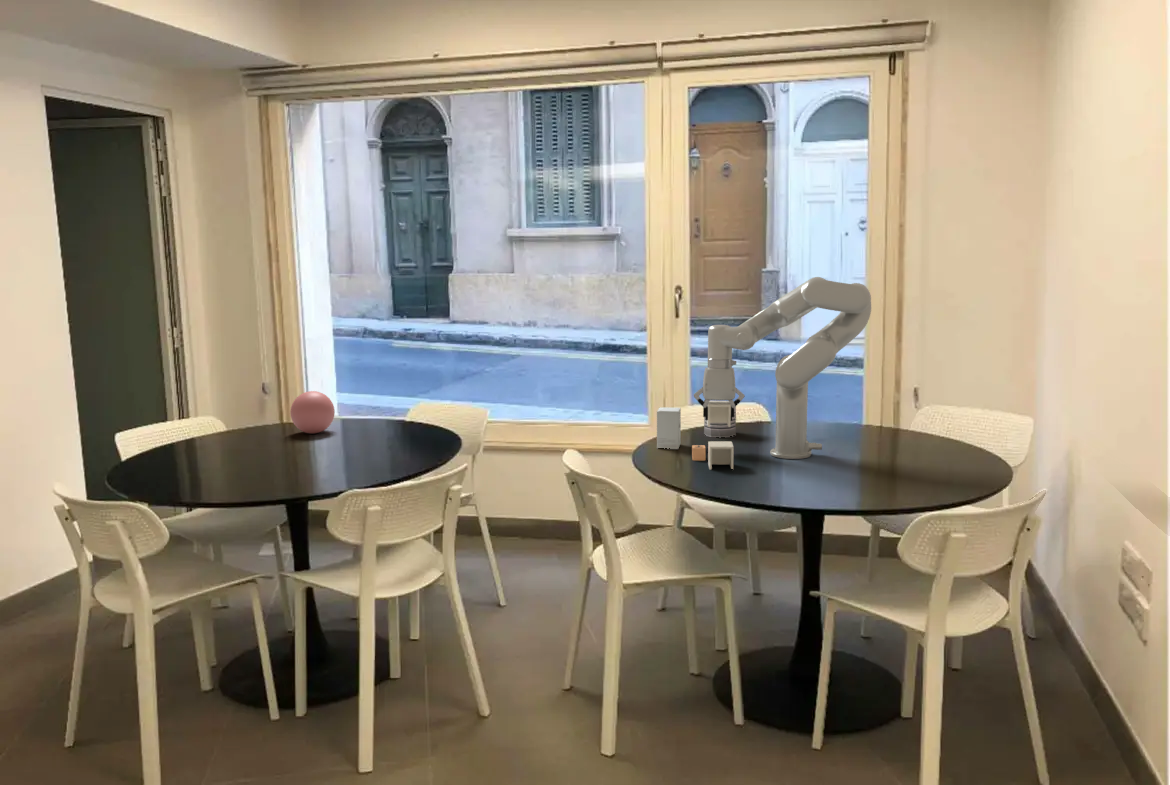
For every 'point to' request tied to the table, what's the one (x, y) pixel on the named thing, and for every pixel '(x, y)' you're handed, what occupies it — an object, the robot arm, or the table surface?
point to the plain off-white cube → (720, 453)
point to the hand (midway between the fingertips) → (718, 419)
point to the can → (720, 427)
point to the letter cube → (698, 452)
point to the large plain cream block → (719, 412)
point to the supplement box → (669, 428)
